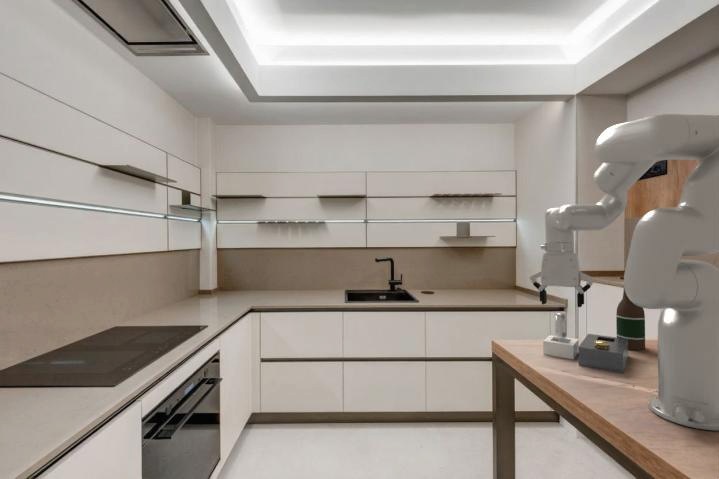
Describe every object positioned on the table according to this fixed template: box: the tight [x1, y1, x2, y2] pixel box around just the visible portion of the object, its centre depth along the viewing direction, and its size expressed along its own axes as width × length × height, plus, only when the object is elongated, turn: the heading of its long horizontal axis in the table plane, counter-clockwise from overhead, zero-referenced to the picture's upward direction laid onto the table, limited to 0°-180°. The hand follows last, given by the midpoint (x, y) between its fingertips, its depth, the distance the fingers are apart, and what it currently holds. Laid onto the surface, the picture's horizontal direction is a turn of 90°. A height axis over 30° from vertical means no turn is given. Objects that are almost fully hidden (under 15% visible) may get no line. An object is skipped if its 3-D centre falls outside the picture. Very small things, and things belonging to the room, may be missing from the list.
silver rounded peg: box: [554, 312, 567, 343], centre depth 112 cm, size 3×3×12 cm
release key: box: [594, 340, 610, 349], centre depth 102 cm, size 4×4×6 cm
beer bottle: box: [615, 275, 646, 352], centre depth 116 cm, size 8×8×24 cm
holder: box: [542, 334, 580, 360], centre depth 112 cm, size 8×8×5 cm
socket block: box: [578, 333, 629, 374], centre depth 105 cm, size 17×10×6 cm, turn 140°
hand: (561, 305), depth 111 cm, fingers open, 9 cm apart
